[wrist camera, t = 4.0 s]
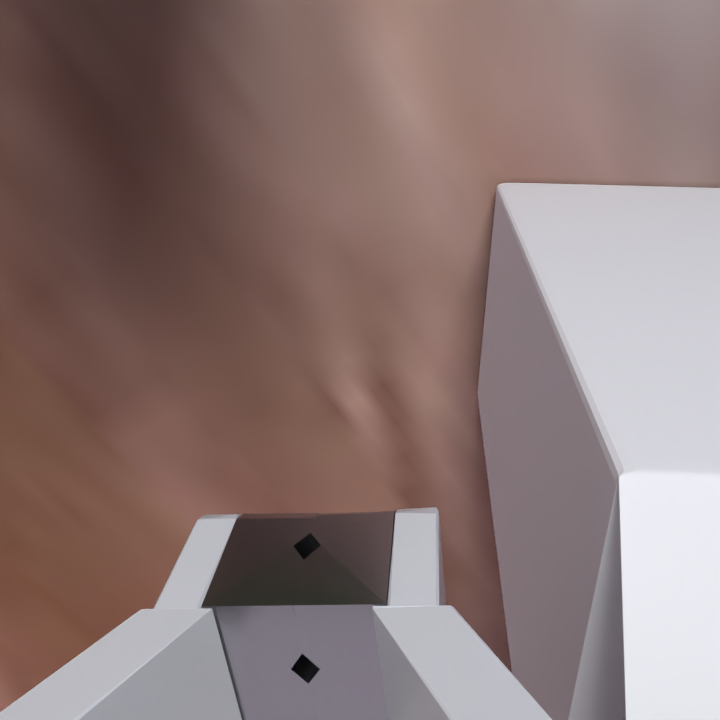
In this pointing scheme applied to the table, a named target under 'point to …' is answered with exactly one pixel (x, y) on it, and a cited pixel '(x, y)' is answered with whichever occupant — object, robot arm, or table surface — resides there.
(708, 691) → the milk carton
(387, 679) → the robot arm
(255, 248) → the table surface
